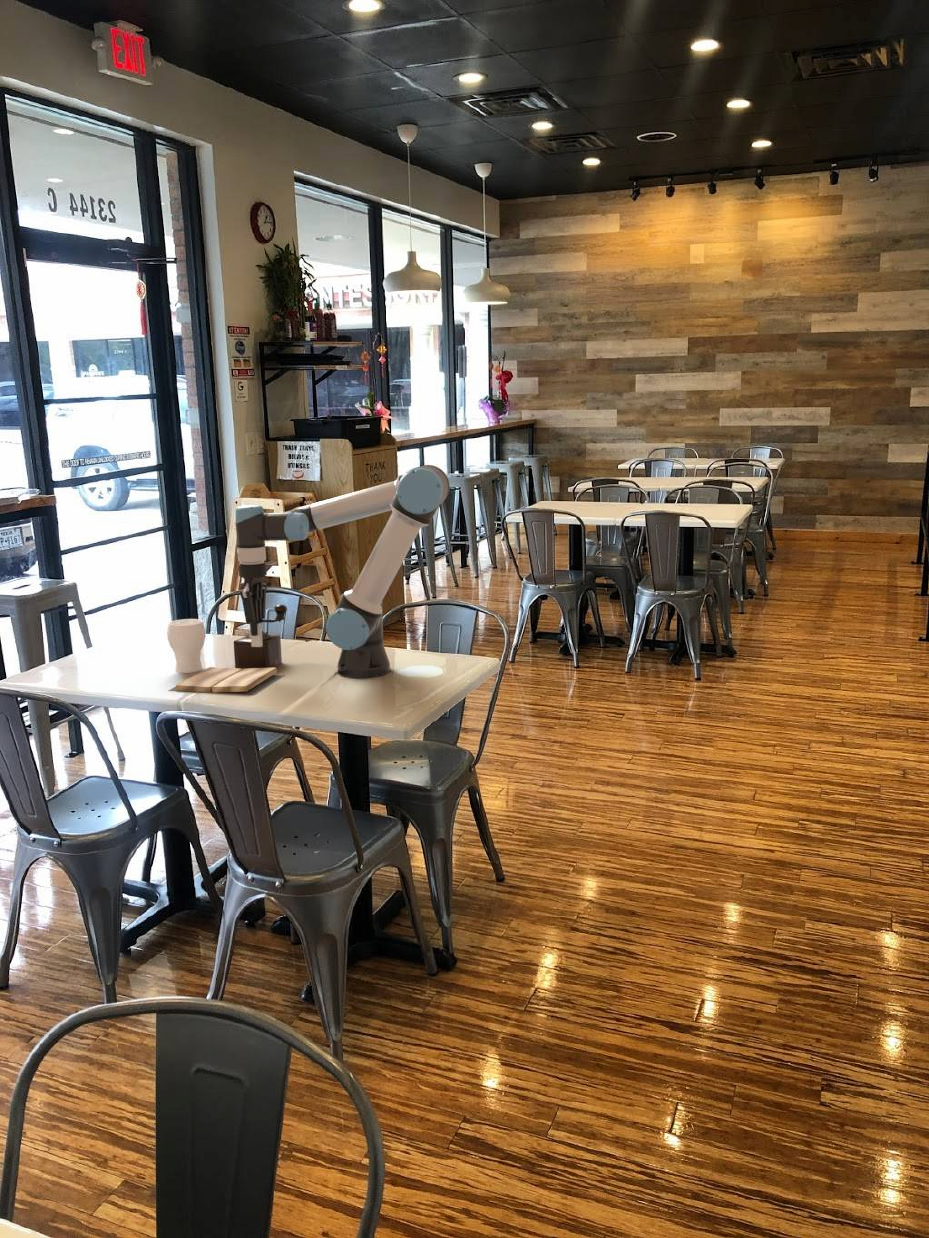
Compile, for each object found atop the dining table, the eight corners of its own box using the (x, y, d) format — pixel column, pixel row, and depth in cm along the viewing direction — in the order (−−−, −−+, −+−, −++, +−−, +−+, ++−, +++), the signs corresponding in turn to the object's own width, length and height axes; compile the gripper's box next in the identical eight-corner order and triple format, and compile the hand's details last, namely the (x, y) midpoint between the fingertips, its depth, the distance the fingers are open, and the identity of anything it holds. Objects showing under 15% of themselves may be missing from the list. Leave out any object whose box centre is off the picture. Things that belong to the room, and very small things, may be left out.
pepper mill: (268, 674, 301) (265, 613, 298) (234, 672, 304) (230, 611, 301) (292, 662, 316) (289, 603, 312) (259, 659, 319) (256, 601, 315)
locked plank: (242, 673, 299) (242, 668, 298) (210, 692, 280) (210, 686, 279) (210, 672, 301) (209, 667, 301) (176, 690, 282) (175, 685, 282)
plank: (276, 672, 296) (276, 667, 296) (246, 691, 277) (246, 685, 277) (244, 673, 299) (243, 668, 298) (212, 692, 279) (211, 686, 279)
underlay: (285, 678, 297) (285, 675, 296) (254, 698, 276) (254, 695, 276) (204, 674, 302) (203, 671, 302) (168, 694, 282) (167, 690, 282)
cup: (198, 678, 299) (194, 626, 296) (163, 676, 301) (159, 625, 298) (214, 668, 309) (210, 618, 306) (180, 667, 311) (177, 617, 308)
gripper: (249, 558, 294) (254, 640, 298) (228, 565, 281) (234, 651, 286) (274, 558, 292) (279, 641, 297) (254, 566, 280) (260, 652, 284)
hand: (257, 646), depth 291 cm, fingers closed
